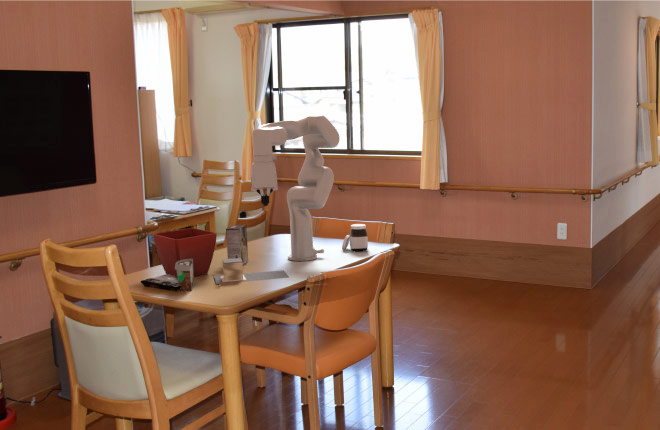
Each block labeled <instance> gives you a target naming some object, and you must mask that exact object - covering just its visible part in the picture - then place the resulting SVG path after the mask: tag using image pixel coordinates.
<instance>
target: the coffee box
mask: <svg viewBox="0 0 660 430" xmlns="http://www.w3.org/2000/svg"><path fill="white" fill-rule="evenodd" d="M225 234H226V235H225V237H226V252H227V254H226V255H227V259H233V258H241V260H242V262H243V266H244V265H245V264H246V263H248V262H249V252H248V251H249V248H248V247H249V246H248V232H247V224H234V225H231V226H228V227H227V228H225Z"/></svg>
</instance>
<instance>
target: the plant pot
mask: <svg viewBox="0 0 660 430" xmlns="http://www.w3.org/2000/svg"><path fill="white" fill-rule="evenodd" d="M152 236H153V241H154V245H155V249H156V253H157V254H158V258H159V261H160V264H161V266H162V268H163V270H164V272H165V274H166V275H168V276H172V277H174V278H177V279H178V276H177V270H176V269H175V264H176V262H177V261H180V260H185V259H193V275H194V277H196V276H202V275H207V274H208V273H209V272H210V267H211V264H212V262H213V257H214V253H215V248H216V243H217V242H216V241H217V232H214V231H210V230H205V229H200V228H195V227H191V228H184V229H175V230H170V231H162V232H155V233H153V234H152Z"/></svg>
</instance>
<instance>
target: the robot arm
mask: <svg viewBox="0 0 660 430" xmlns="http://www.w3.org/2000/svg"><path fill="white" fill-rule="evenodd" d="M301 137H302V143H303V149H304V152H305V159H304V161H303V164H302V166H301V169H300V171H299V174H298V177H297V183H298V185H295V186H293V187H290V188H289V189H288V190H287V192H286V202H287V207H288V210H289V211H288V212H289V224H290V225H289V226H290V227H289V228H290V248H291V249H290V252H291V253H290V254H288V256H287V259H288V260H289V261H294V262H308V261H312V260H316V259H317V258H318V254H324V253H325V249H324V248H320V247H319V248H315V247H314V242H313V241H314V239H313V237H314V236H313V217H312V214H311V213H310V212H311V211H310V210H312V209H313V210H320V209H323V208H324V207H325V205H326V203H327V201H328V198H329V196H330V193H331V191H332V188H333V185H334V183H335V182H334V181H335V173H334V172H333V170H332V168H330V167H328V166H324V164H325V158H324V156H323V155H322V153H321V152H320V149H334V148H336V147H337V146H338V145H339V144H340V134H339V131H338V129H336V127H335V126H334V125H333V123H332V122H331V121H330V120H329V119H328V118H327V117H326V116H325V115H323V114H320V113H319V114H302V115H301V114H300V115H298V116H296V117H292V118H290V119H285V120H281V121H276V122H271V123H266V124H261V125H259V126H257V127H256V128H255V129H252V149H253V150H252V151H253V152H252V154H253V155H252V156H253V162H252V163H251V166H250V167H251V168H250V185H251V189H250V191H251V192H254V193H258V195H260V204H262V206H264V207H267V206H269V204H270V196H271V194H272V192H275V191H278V189H279V187H278V175H277V169H276V163H275V162H274V160H277V155H273V146H277V147H278V146H282V145H284V144H285V143H286V142H287V141H291V140H296V139H299V138H301ZM264 189H265V193H264ZM309 209H310V210H309Z"/></svg>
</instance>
